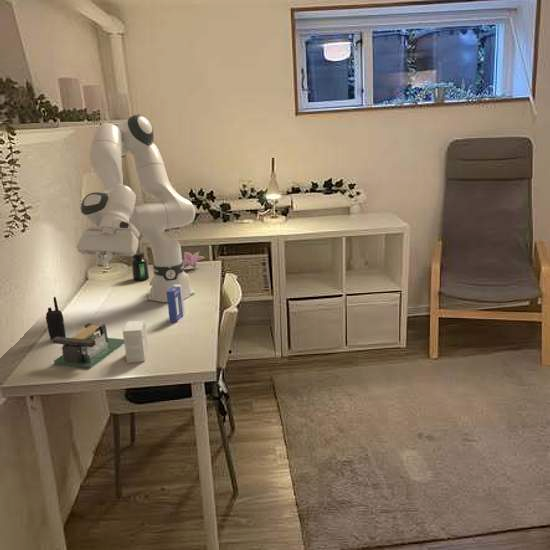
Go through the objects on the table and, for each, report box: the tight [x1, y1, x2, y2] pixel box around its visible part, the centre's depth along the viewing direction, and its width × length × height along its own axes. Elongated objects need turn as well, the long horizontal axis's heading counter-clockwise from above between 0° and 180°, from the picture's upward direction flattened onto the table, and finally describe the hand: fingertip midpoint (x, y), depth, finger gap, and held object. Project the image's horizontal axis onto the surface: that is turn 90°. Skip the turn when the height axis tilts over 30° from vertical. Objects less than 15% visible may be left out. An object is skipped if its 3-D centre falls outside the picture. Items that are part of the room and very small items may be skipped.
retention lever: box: [52, 324, 100, 347], centre depth 176 cm, size 1×14×12 cm
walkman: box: [167, 285, 186, 323], centre depth 204 cm, size 8×3×12 cm, turn 167°
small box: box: [122, 320, 149, 364], centre depth 174 cm, size 8×6×10 cm
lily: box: [182, 251, 205, 273], centre depth 262 cm, size 12×12×10 cm
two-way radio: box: [45, 296, 67, 340], centre depth 189 cm, size 6×4×15 cm
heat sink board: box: [53, 322, 125, 369], centre depth 178 cm, size 19×13×8 cm
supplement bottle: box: [130, 251, 150, 282], centre depth 252 cm, size 7×7×12 cm
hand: (100, 265), depth 179 cm, fingers closed
